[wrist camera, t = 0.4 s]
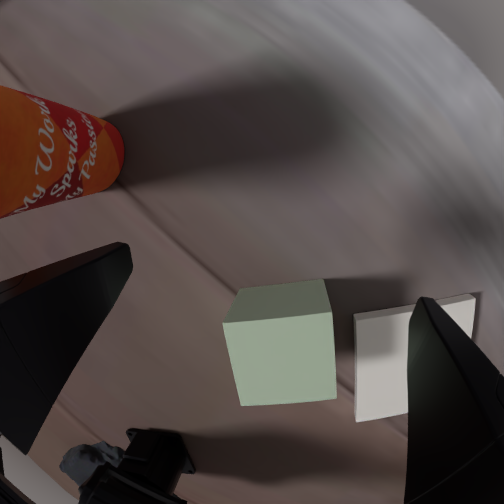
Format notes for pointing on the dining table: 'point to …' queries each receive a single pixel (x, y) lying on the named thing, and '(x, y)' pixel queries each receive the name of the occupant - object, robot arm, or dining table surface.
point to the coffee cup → (52, 152)
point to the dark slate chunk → (89, 460)
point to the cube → (282, 343)
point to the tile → (392, 355)
